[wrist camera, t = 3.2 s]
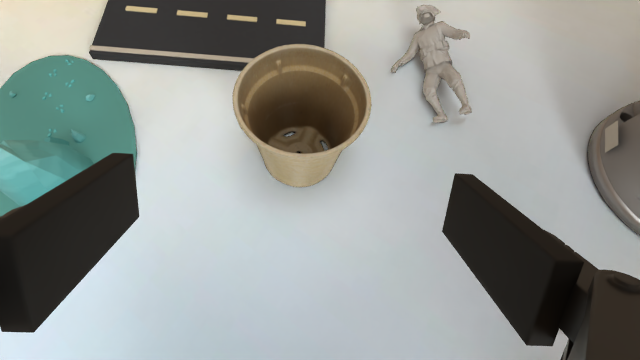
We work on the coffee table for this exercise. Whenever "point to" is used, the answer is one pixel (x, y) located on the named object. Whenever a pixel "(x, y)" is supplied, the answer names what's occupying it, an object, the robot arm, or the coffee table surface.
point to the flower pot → (301, 109)
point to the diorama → (57, 126)
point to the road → (205, 30)
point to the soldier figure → (436, 59)
